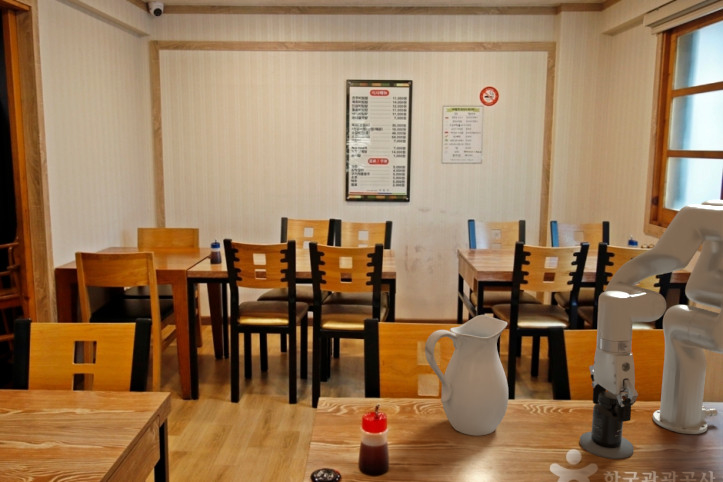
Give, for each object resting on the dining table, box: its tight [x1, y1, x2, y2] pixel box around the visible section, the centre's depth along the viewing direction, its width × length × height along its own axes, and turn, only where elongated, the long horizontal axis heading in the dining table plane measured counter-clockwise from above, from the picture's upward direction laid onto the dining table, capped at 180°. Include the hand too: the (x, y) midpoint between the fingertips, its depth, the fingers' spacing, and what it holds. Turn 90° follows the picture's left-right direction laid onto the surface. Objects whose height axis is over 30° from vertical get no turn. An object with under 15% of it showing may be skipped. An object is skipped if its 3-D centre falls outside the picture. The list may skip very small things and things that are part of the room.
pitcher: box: [424, 314, 509, 437], centre depth 148 cm, size 24×17×28 cm
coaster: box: [579, 430, 634, 460], centre depth 141 cm, size 12×12×1 cm
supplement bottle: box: [591, 391, 624, 448], centre depth 140 cm, size 7×7×12 cm
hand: (610, 411), depth 140 cm, fingers open, 9 cm apart
